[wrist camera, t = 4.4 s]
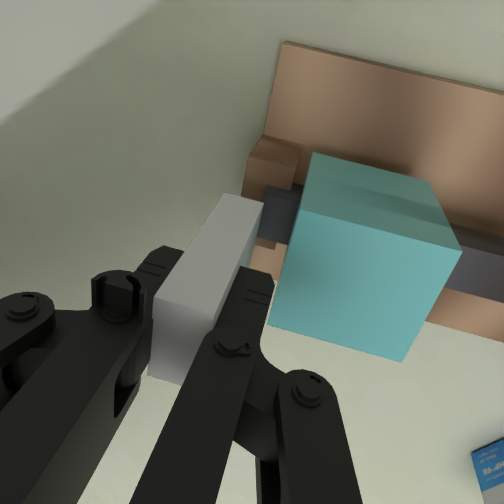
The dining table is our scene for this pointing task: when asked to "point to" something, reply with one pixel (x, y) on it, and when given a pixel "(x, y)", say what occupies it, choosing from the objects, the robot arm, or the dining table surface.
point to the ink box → (490, 472)
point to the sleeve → (363, 258)
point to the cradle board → (390, 162)
